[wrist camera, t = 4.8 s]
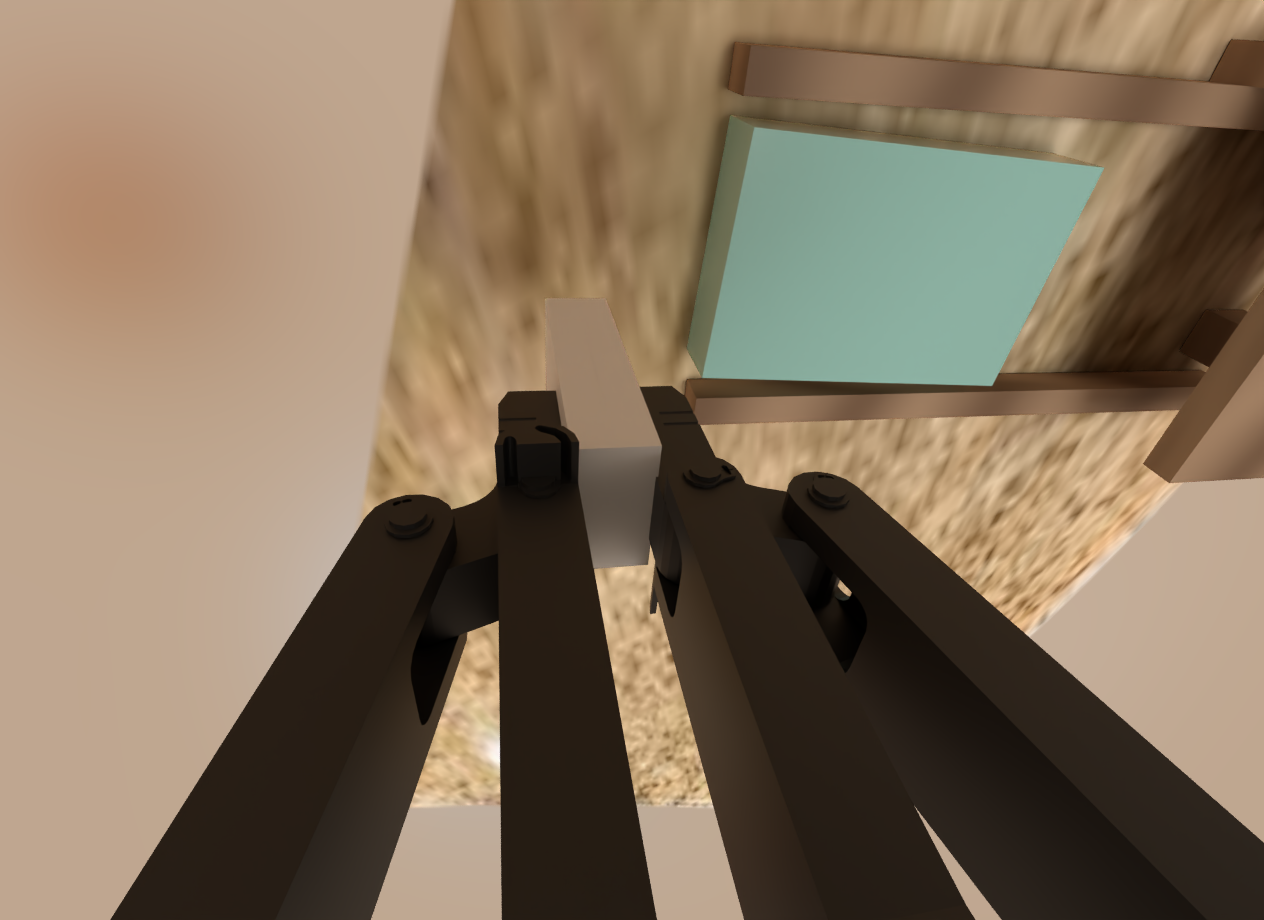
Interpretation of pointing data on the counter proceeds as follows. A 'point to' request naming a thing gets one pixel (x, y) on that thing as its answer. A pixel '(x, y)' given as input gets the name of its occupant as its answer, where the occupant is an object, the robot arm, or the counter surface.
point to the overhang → (1188, 450)
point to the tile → (876, 254)
